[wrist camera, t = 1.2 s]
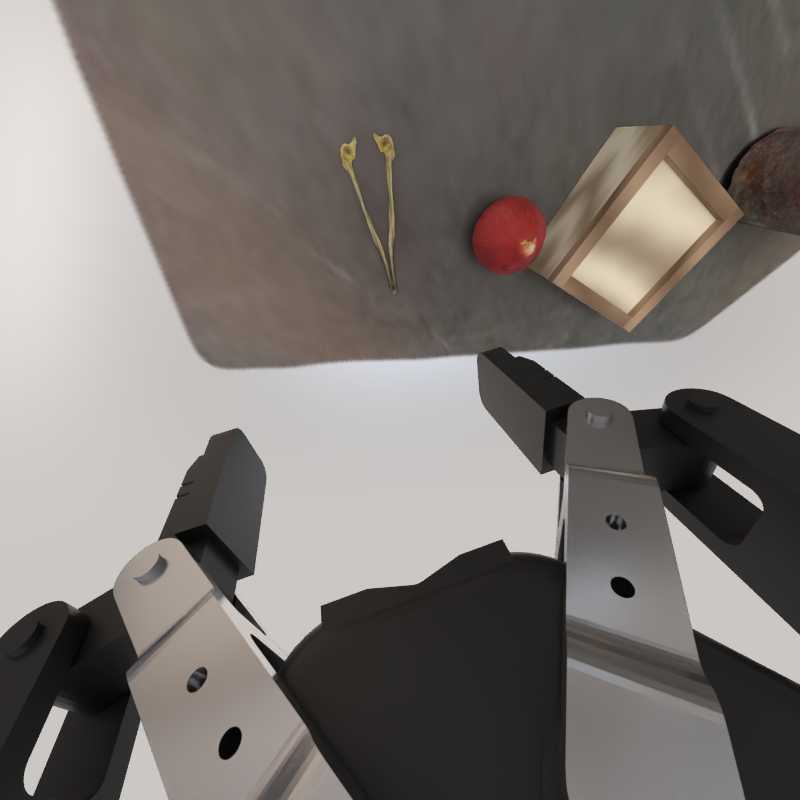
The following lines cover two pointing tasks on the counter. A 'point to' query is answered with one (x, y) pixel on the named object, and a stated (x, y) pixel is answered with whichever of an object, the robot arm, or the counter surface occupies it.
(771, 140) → the rusty metal cylinder
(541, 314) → the counter surface
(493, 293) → the counter surface
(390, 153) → the tongs
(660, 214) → the pedestal
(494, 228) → the pomegranate
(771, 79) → the counter surface
